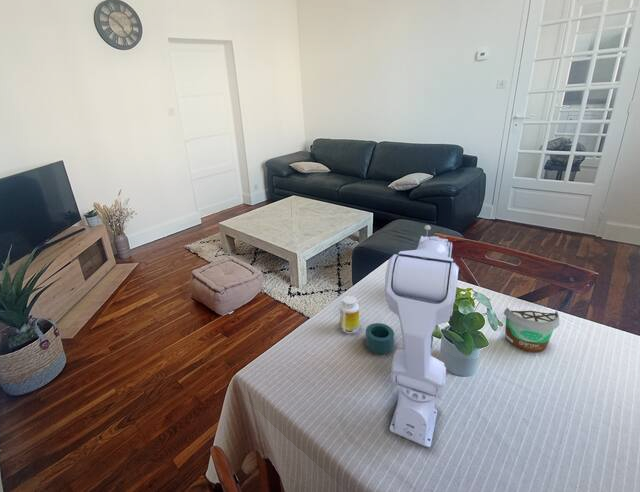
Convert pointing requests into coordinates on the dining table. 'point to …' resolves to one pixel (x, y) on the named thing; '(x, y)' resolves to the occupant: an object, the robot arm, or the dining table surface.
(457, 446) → the dining table surface
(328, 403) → the dining table surface
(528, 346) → the food container
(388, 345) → the teal ring pot
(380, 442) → the dining table surface
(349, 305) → the supplement bottle
